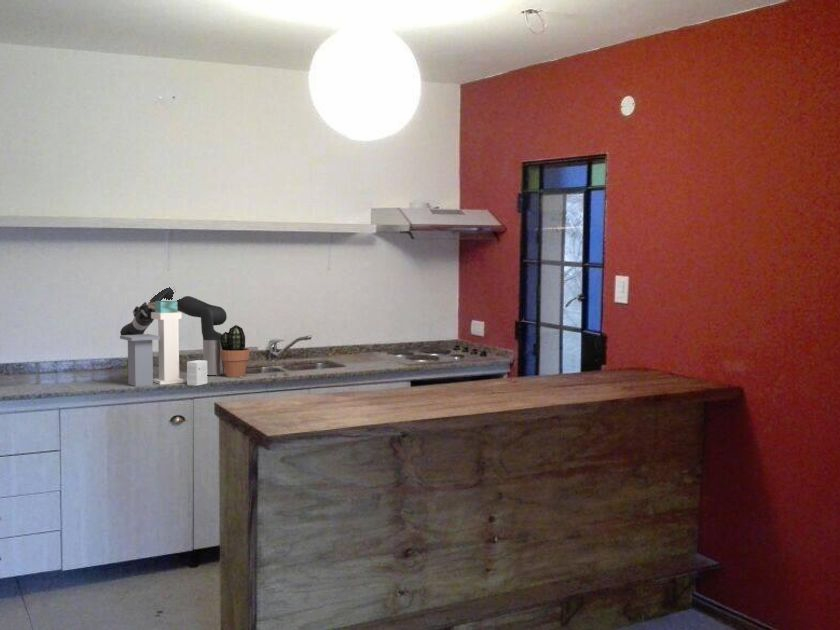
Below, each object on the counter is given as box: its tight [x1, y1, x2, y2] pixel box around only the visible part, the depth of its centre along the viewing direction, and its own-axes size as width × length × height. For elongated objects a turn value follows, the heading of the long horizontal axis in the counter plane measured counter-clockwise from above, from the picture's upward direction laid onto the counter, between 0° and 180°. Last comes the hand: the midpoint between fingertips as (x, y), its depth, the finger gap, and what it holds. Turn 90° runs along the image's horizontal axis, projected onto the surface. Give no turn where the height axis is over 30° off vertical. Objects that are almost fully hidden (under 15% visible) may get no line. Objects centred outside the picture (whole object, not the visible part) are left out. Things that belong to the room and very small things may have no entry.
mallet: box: [147, 301, 179, 313], centre depth 391 cm, size 8×20×5 cm, turn 41°
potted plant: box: [220, 324, 251, 378], centre depth 408 cm, size 14×14×25 cm
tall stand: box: [151, 311, 184, 385], centre depth 387 cm, size 11×10×32 cm
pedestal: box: [119, 333, 160, 387], centre depth 379 cm, size 13×13×22 cm
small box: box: [186, 359, 208, 387], centre depth 382 cm, size 8×6×10 cm
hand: (154, 303), depth 395 cm, fingers open, 8 cm apart
